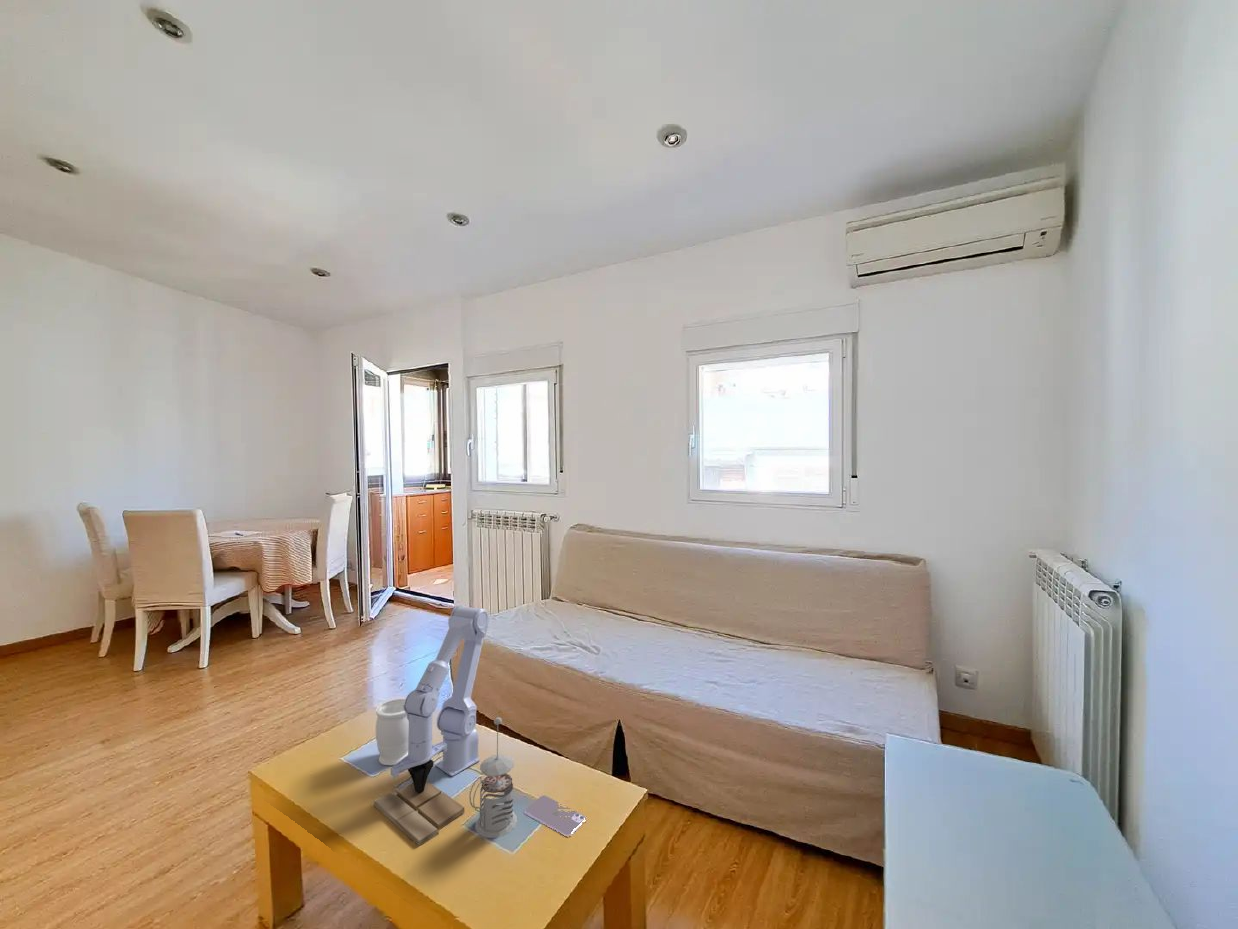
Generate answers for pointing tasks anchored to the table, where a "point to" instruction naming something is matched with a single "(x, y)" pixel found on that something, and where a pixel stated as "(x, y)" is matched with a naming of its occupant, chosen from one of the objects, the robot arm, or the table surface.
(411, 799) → the plank
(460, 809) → the plank
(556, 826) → the mobile phone
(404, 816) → the laid board
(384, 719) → the jar
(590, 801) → the table surface
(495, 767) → the french press
